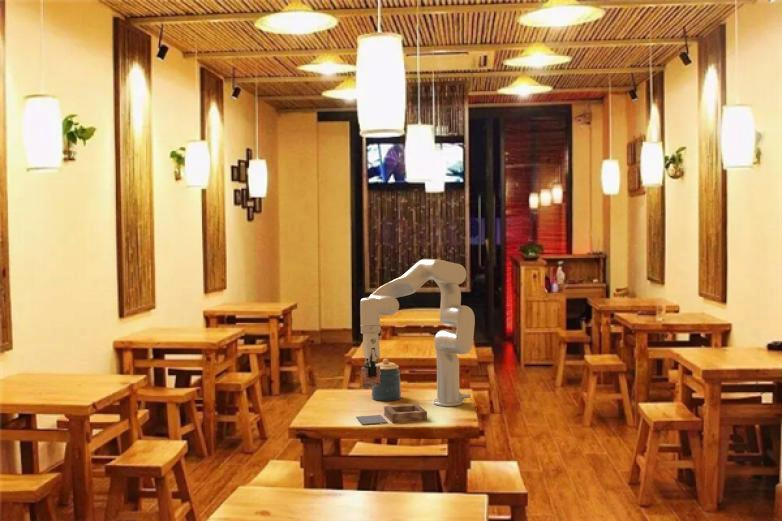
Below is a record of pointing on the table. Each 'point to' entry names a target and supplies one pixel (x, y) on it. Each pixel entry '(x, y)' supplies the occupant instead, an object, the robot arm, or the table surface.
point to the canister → (387, 382)
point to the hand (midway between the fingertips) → (370, 375)
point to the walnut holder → (405, 413)
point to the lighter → (370, 380)
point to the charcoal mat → (371, 419)
